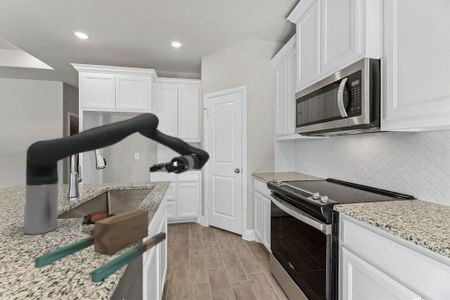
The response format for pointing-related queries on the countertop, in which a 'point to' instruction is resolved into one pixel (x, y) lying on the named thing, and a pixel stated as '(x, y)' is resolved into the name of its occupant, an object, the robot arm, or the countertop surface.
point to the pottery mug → (95, 219)
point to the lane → (109, 266)
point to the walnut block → (120, 231)
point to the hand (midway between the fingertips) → (159, 170)
